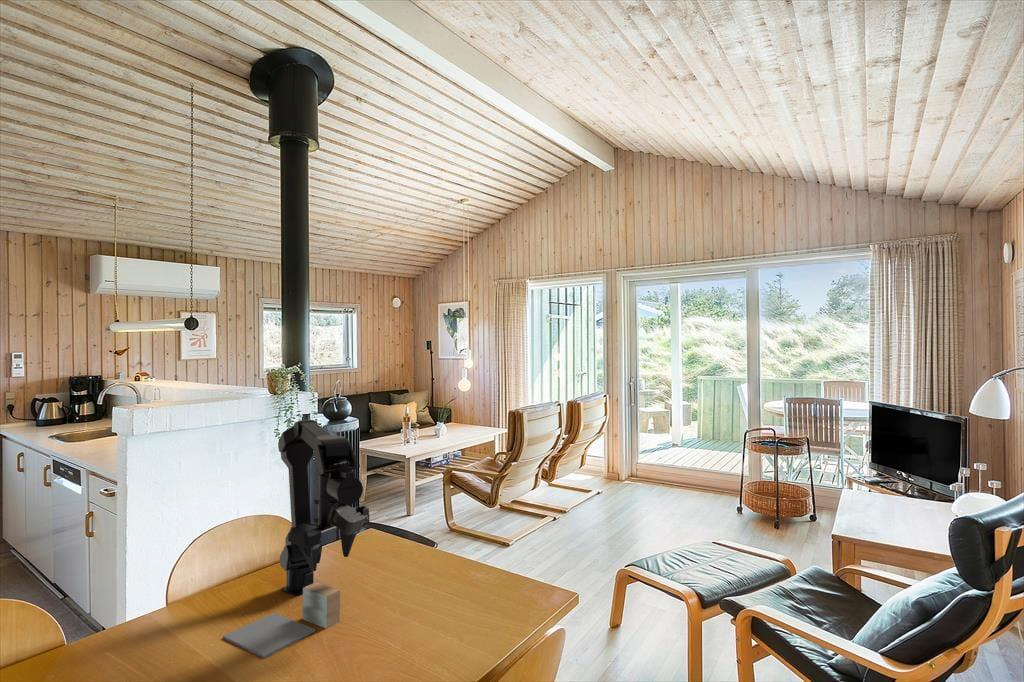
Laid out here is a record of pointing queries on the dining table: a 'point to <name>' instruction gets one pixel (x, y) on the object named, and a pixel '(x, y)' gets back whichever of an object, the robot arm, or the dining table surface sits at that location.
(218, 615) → the dining table surface
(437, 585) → the dining table surface
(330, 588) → the light brown wooden block
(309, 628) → the rubber mat
